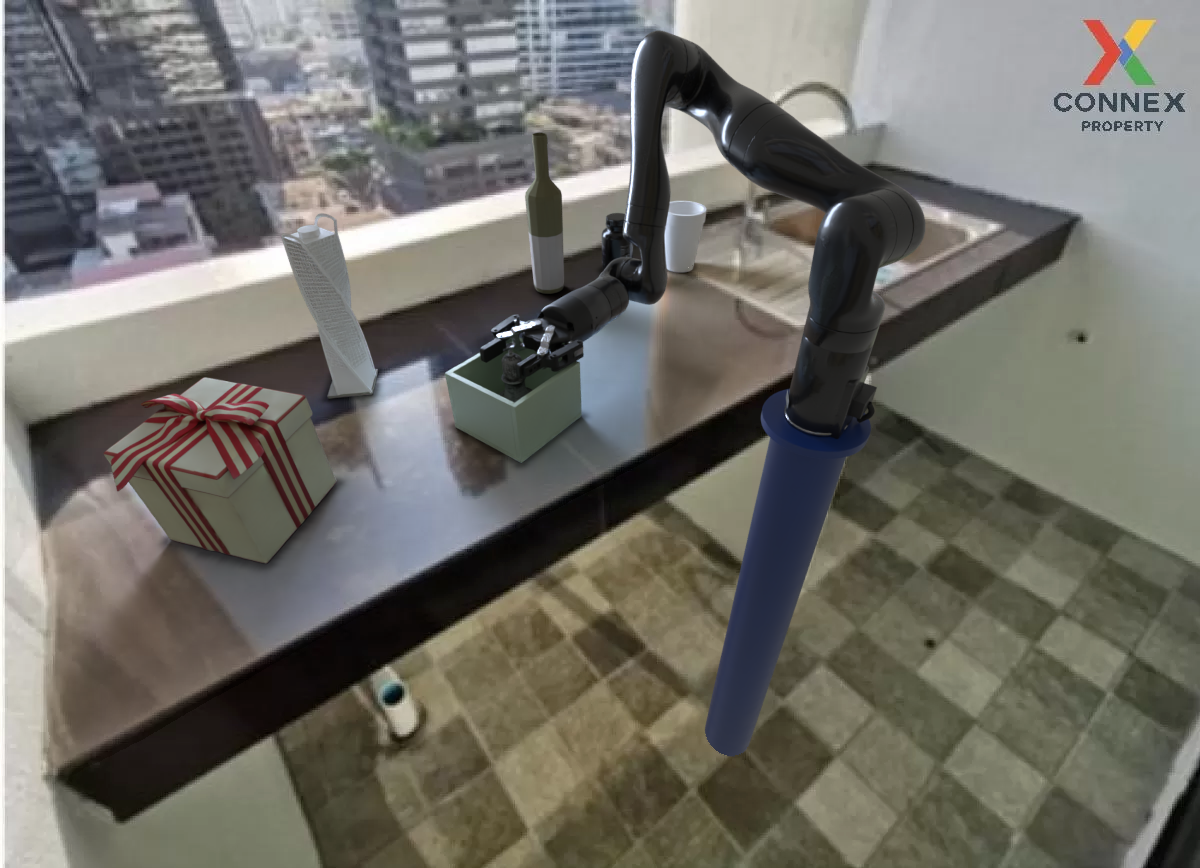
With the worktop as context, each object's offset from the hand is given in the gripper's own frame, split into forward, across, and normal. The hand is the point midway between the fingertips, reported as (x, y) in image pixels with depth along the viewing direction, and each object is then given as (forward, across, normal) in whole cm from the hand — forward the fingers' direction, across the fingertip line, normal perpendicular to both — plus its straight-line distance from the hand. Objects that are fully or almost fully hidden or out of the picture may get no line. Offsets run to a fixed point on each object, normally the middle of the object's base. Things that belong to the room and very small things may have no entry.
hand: (500, 364), depth 83 cm
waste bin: (-2, 0, +12) cm, 12 cm away
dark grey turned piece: (-3, 0, +11) cm, 11 cm away
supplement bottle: (-55, -20, +12) cm, 60 cm away
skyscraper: (+7, -28, +12) cm, 31 cm away
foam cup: (-65, -10, +12) cm, 67 cm away
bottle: (-39, -26, +12) cm, 49 cm away
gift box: (+33, -13, +12) cm, 37 cm away
